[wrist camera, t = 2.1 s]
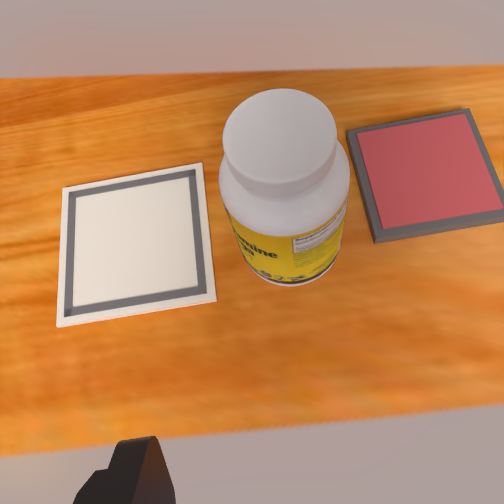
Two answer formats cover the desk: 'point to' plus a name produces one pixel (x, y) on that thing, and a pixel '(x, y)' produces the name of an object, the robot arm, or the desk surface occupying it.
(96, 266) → the card
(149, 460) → the robot arm
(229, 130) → the pill bottle
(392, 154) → the ink pad
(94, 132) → the desk surface
